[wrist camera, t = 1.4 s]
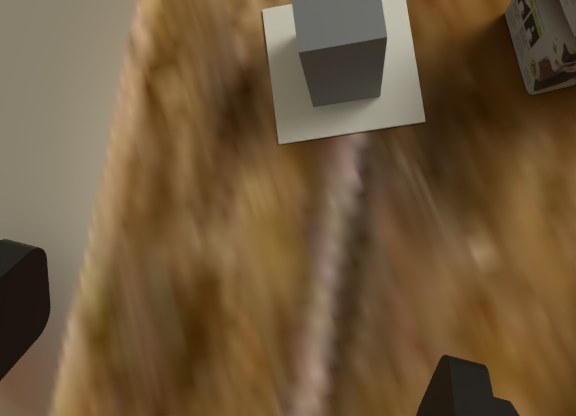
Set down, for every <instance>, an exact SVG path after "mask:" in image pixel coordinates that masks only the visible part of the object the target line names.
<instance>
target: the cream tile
mask: <svg viewBox="0 0 576 416" xmlns="http://www.w3.org/2000/svg"><path fill="white" fill-rule="evenodd" d="M382 6H383V12H384V19H385V25H386V31H387V45H386V53H385V61H384V70H383V78H382V86H381V95H380V97H374V98H367V99H361V100H355V101H349V102H343V103H336V104H330V105H324V106H318V107H313V104H312V101H311V97H310V93H309V90H308V86H307V82H306V79H305V75H304V71H303V68H302V64H301V60H300V57H299V53H298V46H297V38H296V31H295V23H294V15H293V8H292V4H289V5H284V6H278V7H273V8H268V9H262V11H263V20H264V28H265V36H266V44H267V52H268V61H269V69H270V77H271V85H272V93H273V102H274V110H275V118H276V126H277V134H278V143H279V145H281V144H287V143H294V142H300V141H307V140H313V139H320V138H326V137H333V136H339V135H345V134H352V133H358V132H365V131H371V130H378V129H384V128H391V127H397V126H404V125H410V124H417V123H423V122H426V120H425V114H424V108H423V102H422V96H421V90H420V84H419V78H418V72H417V66H416V60H415V54H414V47H413V41H412V35H411V29H410V23H409V17H408V11H407V5H406V0H382Z"/></svg>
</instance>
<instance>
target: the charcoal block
mask: <svg viewBox="0 0 576 416" xmlns="http://www.w3.org/2000/svg"><path fill="white" fill-rule="evenodd" d="M292 8H293V15H294V23H295V31H296V38H297V46H298V53H299V57H300V60H301V64H302V68H303V71H304V75H305V79H306V82H307V86H308V90H309V93H310V97H311V101H312V104H313V107H318V106H324V105H330V104H336V103H343V102H349V101H355V100H361V99H367V98H374V97H380V95H381V86H382V78H383V70H384V61H385V53H386V45H387V31H386V25H385V19H384V12H383V6H382V0H292Z"/></svg>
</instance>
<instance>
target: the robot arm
mask: <svg viewBox="0 0 576 416" xmlns="http://www.w3.org/2000/svg"><path fill="white" fill-rule="evenodd" d="M49 314H50V294H49V282H48V268H47V257H46V253H45V251H44V250H43V249H41V248H38V247H35V246H31V245H27V244H23V243H19V242H15V241H12V240H7V239H3V240H0V381H1V379H2V378H3V377H4V376H5V375H6V374H7V373H8V372H9V370H10V369H11V368H12V367H13V366H14V365H15V364H16V363H17V361H18V360H19V359H20V358H21V357H22V356H23V355H24V353H25V352H26V351H27V350H28V349H29V348H30V346H31V345H32V344H33V343H34V342H35V341H36V340H37V339H38V337H39V336H40V335H41V333H42V332H43V330H44V328H45V326H46V324H47V321H48V318H49ZM416 416H519V414H518V413H517V411H516V409H515V408H514V406H513V405H512V403H511V402H510V401H507V400H503V399H500V398H496V397H493V392H492V387H491V382H490V377H489V373H488V369H487V367H486V366H485V365H483V364H479V363H475V362H472V361H468V360H464V359H460V358H456V357H452V356H448V355H443V356H442V357H441V359H440V361H439V363H438V365H437V367H436V370H435V372H434V374H433V376H432V379H431V381H430V383H429V386H428V388H427V390H426V392H425V395H424V397H423V399H422V401H421V404H420V406H419V409H418V412H417V415H416Z"/></svg>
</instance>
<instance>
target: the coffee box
mask: <svg viewBox="0 0 576 416" xmlns="http://www.w3.org/2000/svg"><path fill="white" fill-rule="evenodd" d="M505 16H506V20H507V24H508V27H509V31H510V34H511V38H512V42H513V45H514V49H515V52H516V56H517V59H518V63H519V67H520V70H521V74H522V77H523V81H524V84H525V87H526V90H527V92H528V93H529V94H531V95H534V94H539V93H543V92H547V91H552V90H556V89H561V88H565V87H569V86H573V85H576V0H512V1H511V2H510V4H509V6H508V7H507V9H506V11H505Z"/></svg>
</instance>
